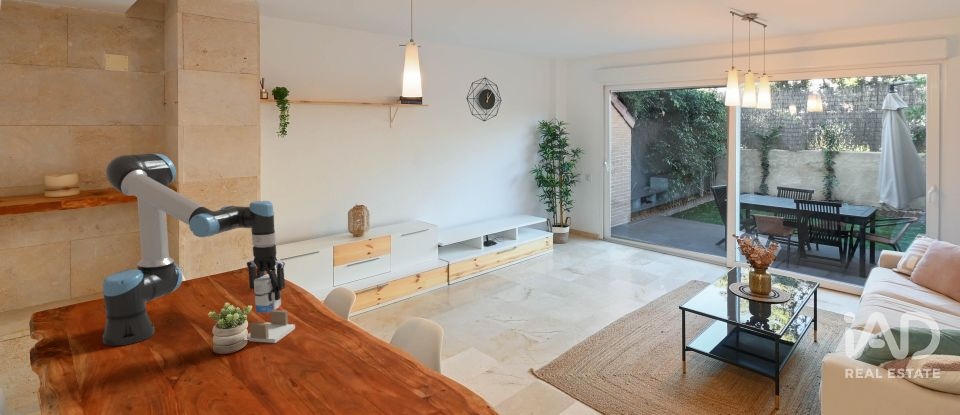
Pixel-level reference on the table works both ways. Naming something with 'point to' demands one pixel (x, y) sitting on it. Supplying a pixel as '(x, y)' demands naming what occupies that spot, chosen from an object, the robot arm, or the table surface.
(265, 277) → the ink box
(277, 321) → the stand
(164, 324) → the table surface
